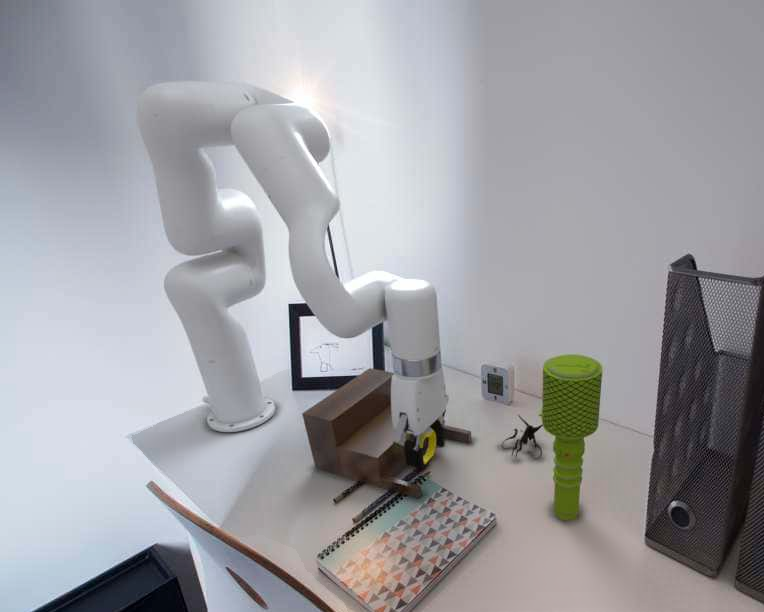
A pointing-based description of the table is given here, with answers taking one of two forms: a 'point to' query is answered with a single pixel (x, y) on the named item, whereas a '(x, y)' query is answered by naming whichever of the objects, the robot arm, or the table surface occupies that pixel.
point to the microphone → (570, 422)
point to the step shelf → (363, 434)
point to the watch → (431, 444)
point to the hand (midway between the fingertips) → (426, 454)
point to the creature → (525, 437)
